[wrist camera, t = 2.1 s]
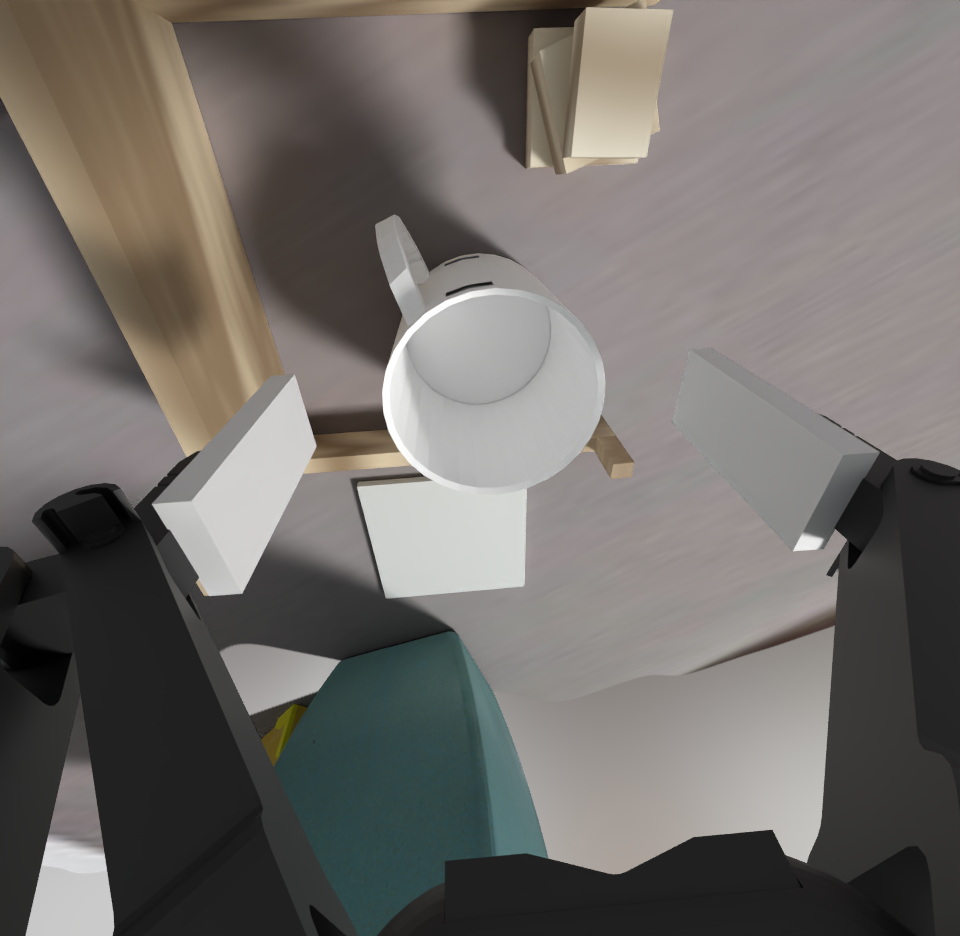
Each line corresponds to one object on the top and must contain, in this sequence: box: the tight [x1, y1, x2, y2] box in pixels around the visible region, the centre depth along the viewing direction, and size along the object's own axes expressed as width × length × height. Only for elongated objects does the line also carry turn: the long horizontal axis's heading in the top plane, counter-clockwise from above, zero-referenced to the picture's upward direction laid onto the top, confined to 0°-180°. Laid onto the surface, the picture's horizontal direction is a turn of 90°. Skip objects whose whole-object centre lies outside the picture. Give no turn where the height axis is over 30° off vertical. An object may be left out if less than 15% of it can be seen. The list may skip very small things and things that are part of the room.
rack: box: [0, 0, 660, 596], centre depth 18 cm, size 21×21×12 cm
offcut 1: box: [525, 27, 638, 168], centre depth 19 cm, size 5×4×2 cm
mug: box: [375, 215, 605, 495], centre depth 20 cm, size 12×9×9 cm
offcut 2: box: [530, 0, 660, 174], centre depth 17 cm, size 4×4×2 cm
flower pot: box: [274, 631, 548, 936], centre depth 32 cm, size 20×20×28 cm
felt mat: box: [357, 477, 527, 599], centre depth 33 cm, size 12×12×1 cm
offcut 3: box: [562, 7, 673, 159], centre depth 16 cm, size 4×3×2 cm
